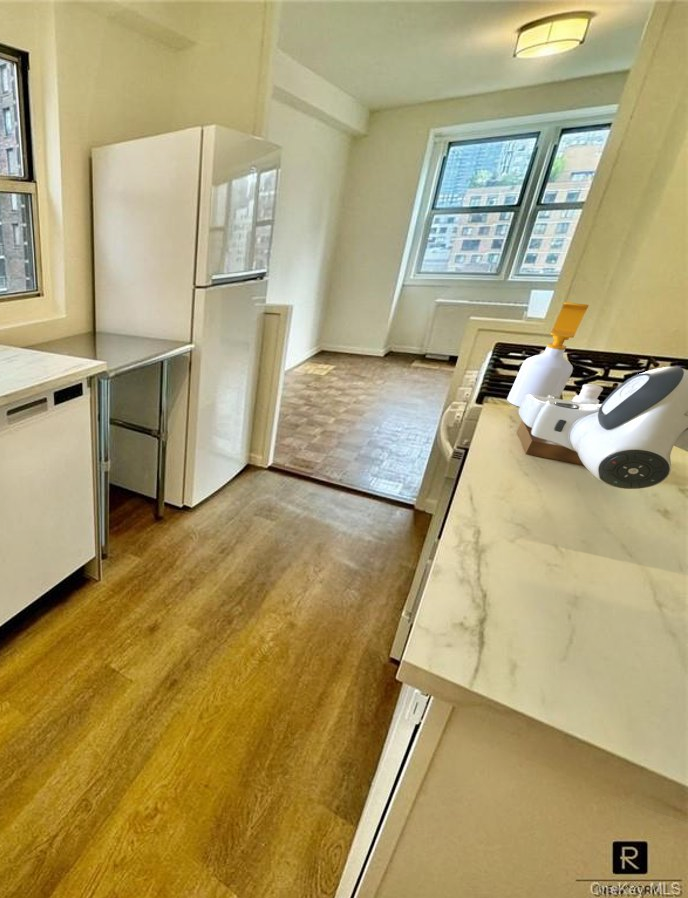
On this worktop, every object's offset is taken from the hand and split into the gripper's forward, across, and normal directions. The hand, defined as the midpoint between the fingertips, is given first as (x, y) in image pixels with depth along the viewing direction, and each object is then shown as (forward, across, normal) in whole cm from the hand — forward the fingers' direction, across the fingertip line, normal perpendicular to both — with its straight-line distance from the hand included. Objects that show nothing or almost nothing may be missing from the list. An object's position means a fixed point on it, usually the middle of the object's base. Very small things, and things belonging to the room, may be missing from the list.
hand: (582, 404), depth 93 cm
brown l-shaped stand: (+1, 0, +10) cm, 10 cm away
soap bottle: (+28, +1, +10) cm, 29 cm away
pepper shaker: (0, 0, +7) cm, 7 cm away
